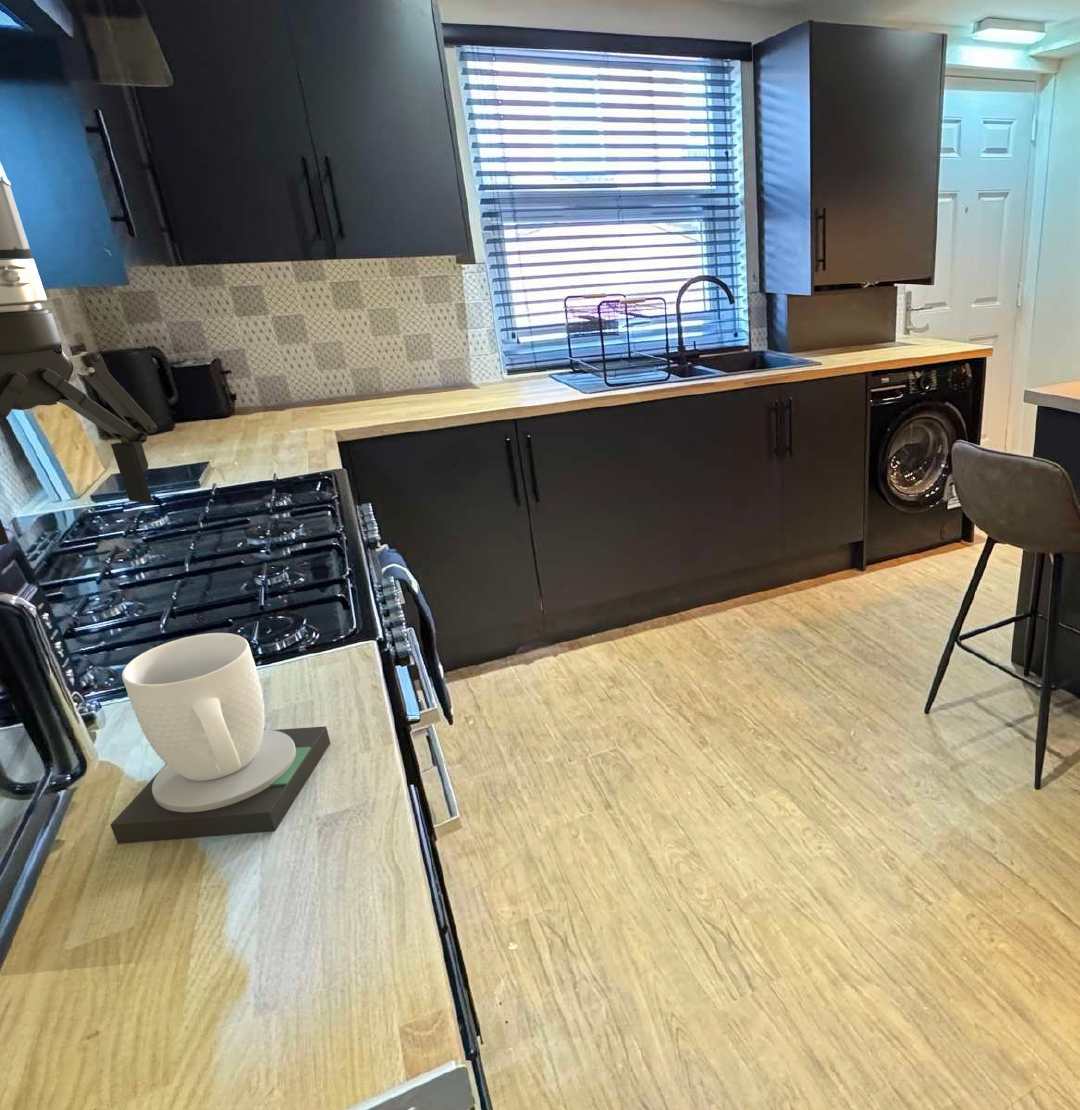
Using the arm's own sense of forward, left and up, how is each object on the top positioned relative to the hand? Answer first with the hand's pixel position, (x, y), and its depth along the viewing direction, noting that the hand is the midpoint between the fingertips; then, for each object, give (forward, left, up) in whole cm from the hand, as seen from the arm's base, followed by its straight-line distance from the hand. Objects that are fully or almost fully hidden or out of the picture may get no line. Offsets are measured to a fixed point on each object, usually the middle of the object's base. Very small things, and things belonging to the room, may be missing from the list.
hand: (74, 520), depth 81 cm
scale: (+13, -9, -29) cm, 33 cm away
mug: (+13, -9, -26) cm, 30 cm away
